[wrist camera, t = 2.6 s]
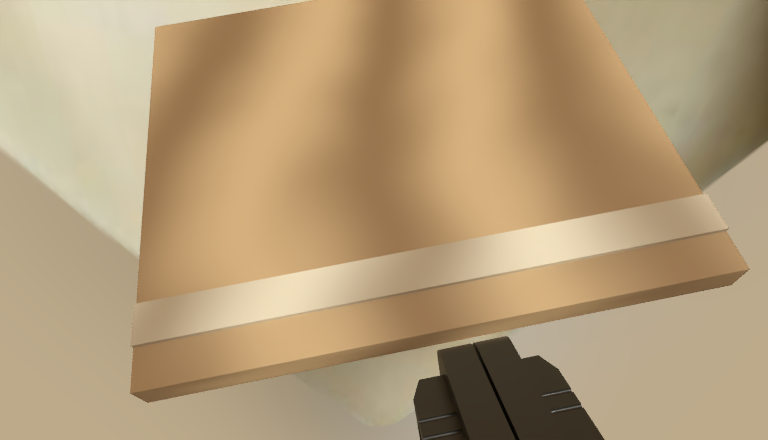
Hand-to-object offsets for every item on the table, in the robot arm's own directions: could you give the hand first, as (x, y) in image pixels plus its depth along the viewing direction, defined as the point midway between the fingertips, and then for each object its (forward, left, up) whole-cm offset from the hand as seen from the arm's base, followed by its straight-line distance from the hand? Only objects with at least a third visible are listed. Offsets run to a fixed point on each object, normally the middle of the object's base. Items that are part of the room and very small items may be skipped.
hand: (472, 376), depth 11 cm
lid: (0, -3, -9) cm, 9 cm away
